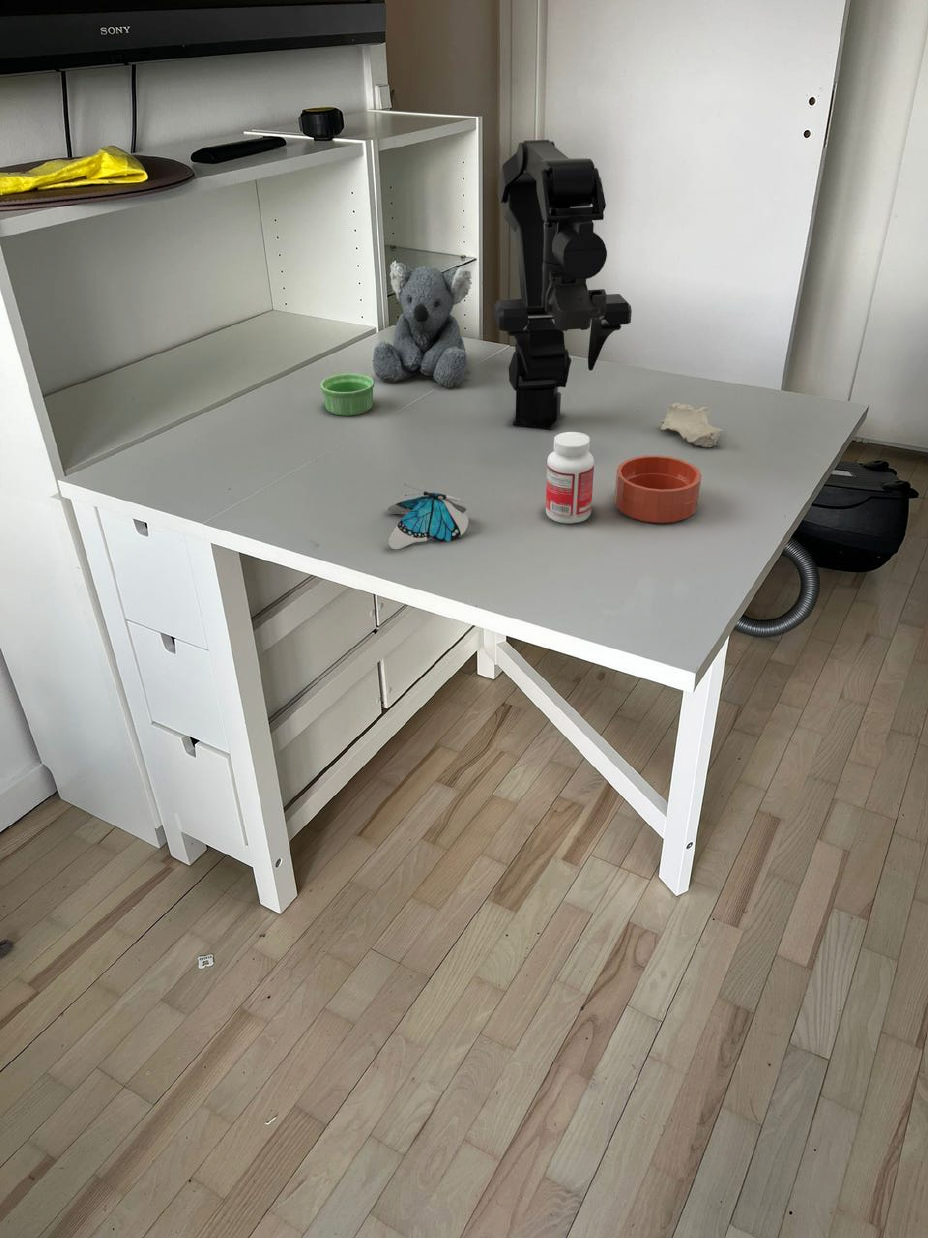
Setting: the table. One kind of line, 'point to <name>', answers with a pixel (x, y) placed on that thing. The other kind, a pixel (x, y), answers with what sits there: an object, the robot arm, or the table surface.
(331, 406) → the ramekin
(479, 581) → the table surface
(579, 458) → the pill bottle
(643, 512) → the bowl
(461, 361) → the koala plush
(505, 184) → the robot arm
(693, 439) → the coral
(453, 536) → the decorative butterfly
